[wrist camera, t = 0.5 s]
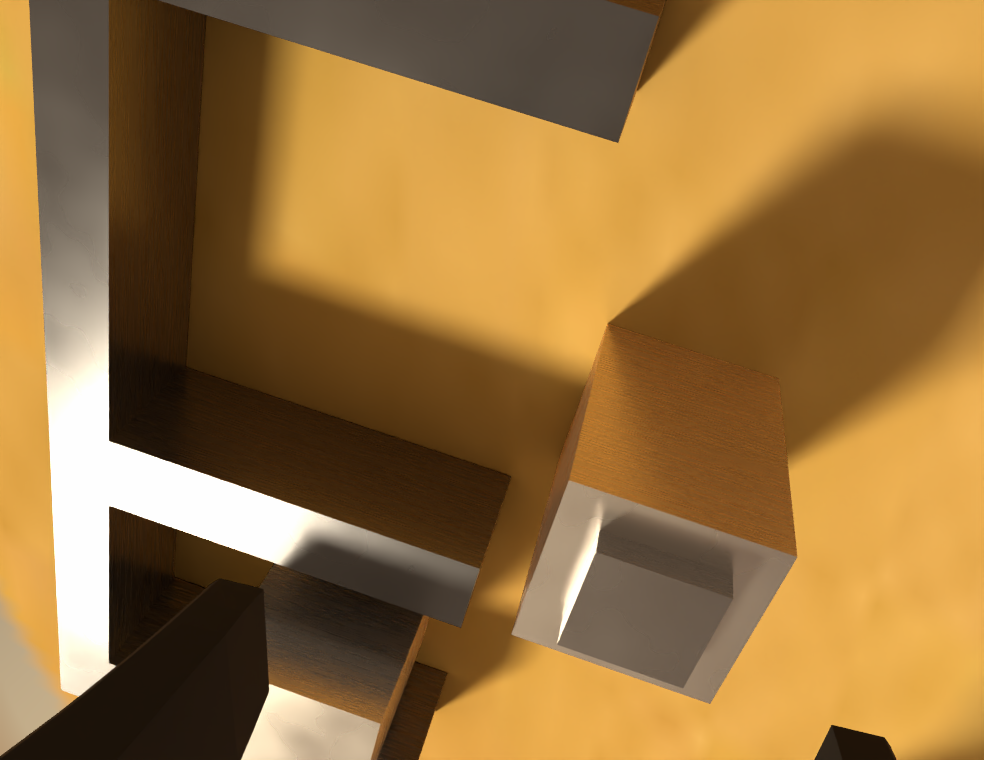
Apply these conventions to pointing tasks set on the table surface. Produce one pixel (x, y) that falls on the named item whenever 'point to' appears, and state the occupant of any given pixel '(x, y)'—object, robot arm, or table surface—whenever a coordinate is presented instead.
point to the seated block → (331, 669)
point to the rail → (165, 313)
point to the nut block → (663, 517)
